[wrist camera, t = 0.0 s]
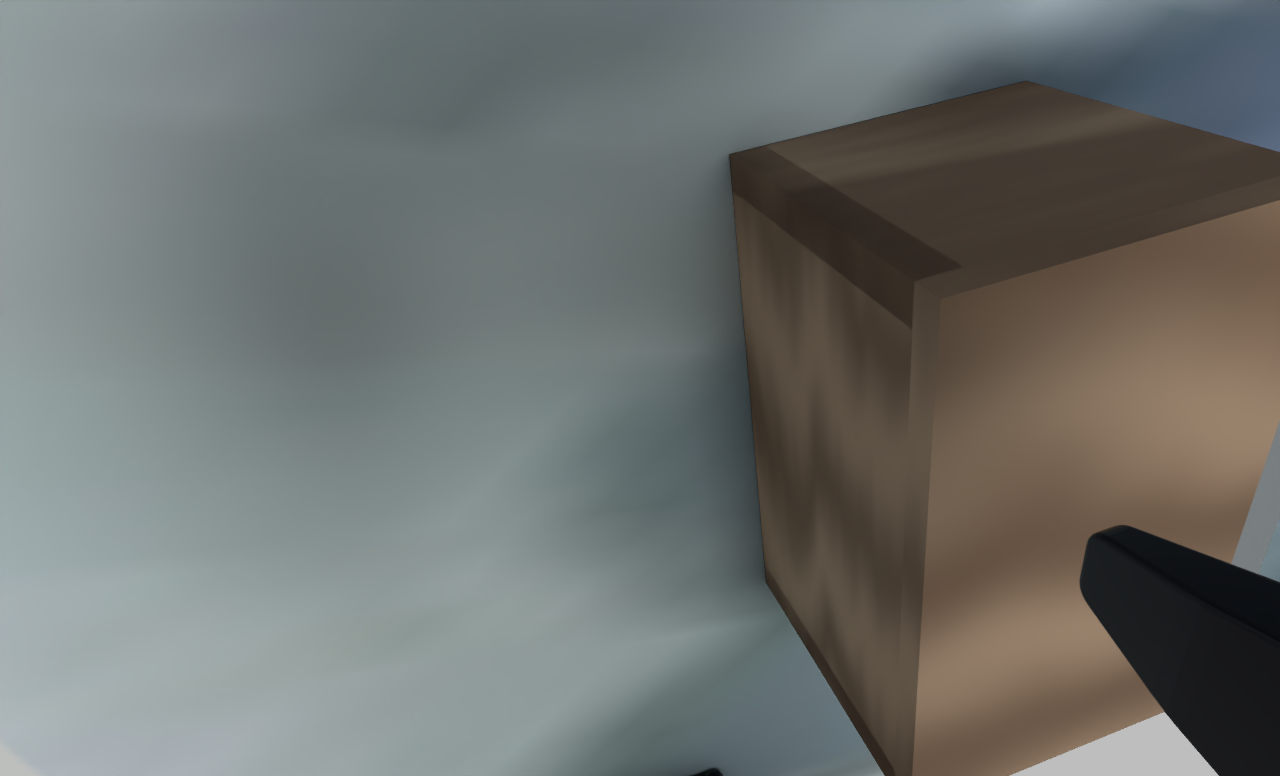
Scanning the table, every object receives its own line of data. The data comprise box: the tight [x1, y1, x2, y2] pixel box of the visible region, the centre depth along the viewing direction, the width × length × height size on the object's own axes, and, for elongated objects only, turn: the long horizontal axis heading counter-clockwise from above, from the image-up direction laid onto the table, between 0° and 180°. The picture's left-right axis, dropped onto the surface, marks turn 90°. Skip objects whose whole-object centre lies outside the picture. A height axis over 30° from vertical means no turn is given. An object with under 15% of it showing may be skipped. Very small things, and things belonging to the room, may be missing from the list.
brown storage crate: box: [729, 81, 1280, 776], centre depth 23 cm, size 16×9×9 cm, turn 9°
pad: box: [1231, 421, 1280, 574], centre depth 36 cm, size 16×7×1 cm, turn 9°
